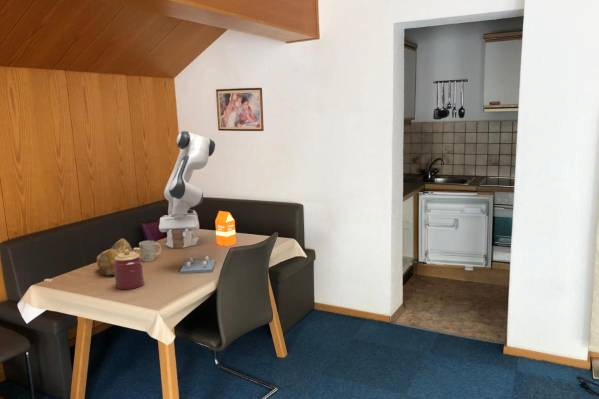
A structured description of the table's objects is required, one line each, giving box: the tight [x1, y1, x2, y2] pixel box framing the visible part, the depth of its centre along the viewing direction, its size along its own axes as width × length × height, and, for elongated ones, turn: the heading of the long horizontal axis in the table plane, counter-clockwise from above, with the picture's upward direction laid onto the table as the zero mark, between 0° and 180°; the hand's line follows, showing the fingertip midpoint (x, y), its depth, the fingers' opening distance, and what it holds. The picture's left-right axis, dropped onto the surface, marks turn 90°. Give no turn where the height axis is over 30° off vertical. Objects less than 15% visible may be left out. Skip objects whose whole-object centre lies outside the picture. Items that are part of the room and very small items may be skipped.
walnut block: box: [172, 230, 184, 249], centre depth 257 cm, size 4×4×8 cm
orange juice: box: [214, 210, 237, 247], centre depth 306 cm, size 8×9×20 cm
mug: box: [138, 240, 162, 262], centre depth 282 cm, size 8×13×10 cm, turn 137°
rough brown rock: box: [96, 237, 134, 276], centre depth 265 cm, size 23×17×15 cm
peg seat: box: [179, 255, 217, 275], centre depth 263 cm, size 16×16×4 cm
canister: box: [113, 249, 145, 290], centre depth 240 cm, size 13×13×18 cm
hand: (177, 237), depth 257 cm, fingers closed on walnut block, 4 cm apart
